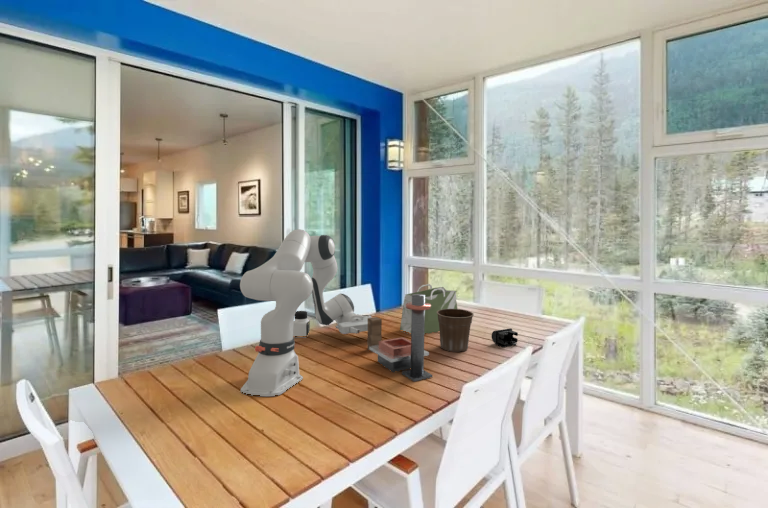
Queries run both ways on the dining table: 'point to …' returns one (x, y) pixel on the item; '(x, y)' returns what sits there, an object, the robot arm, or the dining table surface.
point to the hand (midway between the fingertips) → (367, 330)
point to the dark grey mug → (504, 337)
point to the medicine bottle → (301, 324)
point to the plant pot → (454, 329)
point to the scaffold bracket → (407, 345)
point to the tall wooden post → (374, 331)
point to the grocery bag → (438, 301)
